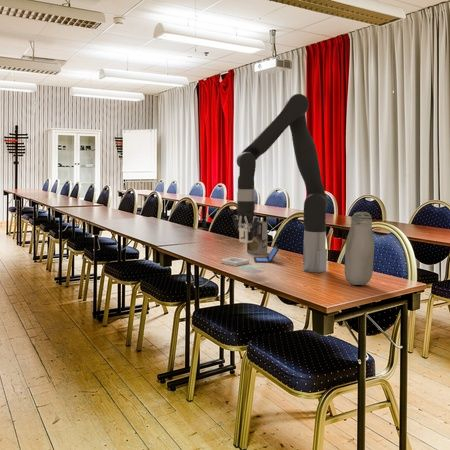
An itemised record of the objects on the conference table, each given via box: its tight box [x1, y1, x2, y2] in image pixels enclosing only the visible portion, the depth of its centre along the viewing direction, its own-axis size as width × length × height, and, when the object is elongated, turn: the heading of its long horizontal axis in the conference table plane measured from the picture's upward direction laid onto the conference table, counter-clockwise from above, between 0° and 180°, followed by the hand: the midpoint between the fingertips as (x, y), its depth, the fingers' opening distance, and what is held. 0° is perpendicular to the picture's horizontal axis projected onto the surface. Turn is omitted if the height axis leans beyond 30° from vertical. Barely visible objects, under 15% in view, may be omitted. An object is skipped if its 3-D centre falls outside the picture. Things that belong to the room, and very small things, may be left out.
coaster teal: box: [235, 265, 254, 271], centre depth 210 cm, size 6×6×1 cm
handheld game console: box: [253, 244, 279, 264], centre depth 228 cm, size 12×11×7 cm
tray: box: [220, 256, 250, 267], centre depth 220 cm, size 9×9×2 cm
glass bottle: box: [344, 211, 375, 286], centre depth 184 cm, size 10×10×28 cm
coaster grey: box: [245, 268, 265, 274], centre depth 204 cm, size 6×6×1 cm
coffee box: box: [246, 220, 269, 255], centre depth 250 cm, size 9×6×16 cm
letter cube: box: [238, 226, 253, 244], centre depth 208 cm, size 4×4×6 cm
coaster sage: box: [246, 263, 265, 269], centre depth 214 cm, size 6×6×1 cm
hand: (245, 239), depth 208 cm, fingers closed on letter cube, 4 cm apart
